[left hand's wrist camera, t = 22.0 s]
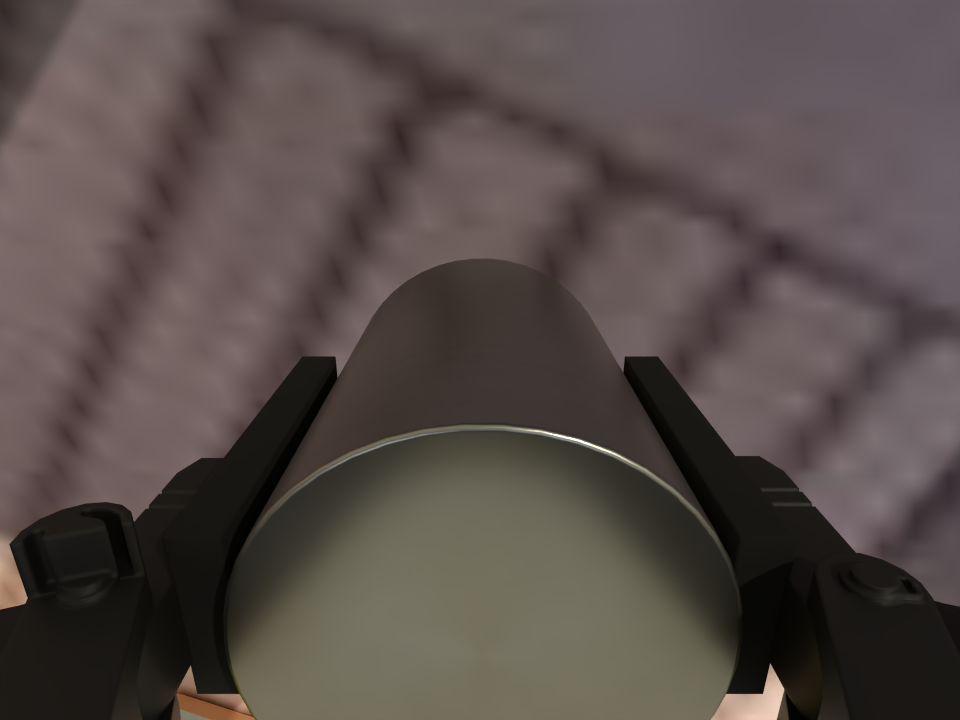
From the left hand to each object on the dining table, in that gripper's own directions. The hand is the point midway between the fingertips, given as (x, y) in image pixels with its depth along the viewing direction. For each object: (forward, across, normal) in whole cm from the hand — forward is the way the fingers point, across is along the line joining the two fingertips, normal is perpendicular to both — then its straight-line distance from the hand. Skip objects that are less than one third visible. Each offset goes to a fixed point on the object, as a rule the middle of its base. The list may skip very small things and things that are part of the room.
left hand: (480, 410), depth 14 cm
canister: (+2, 0, 0) cm, 2 cm away
